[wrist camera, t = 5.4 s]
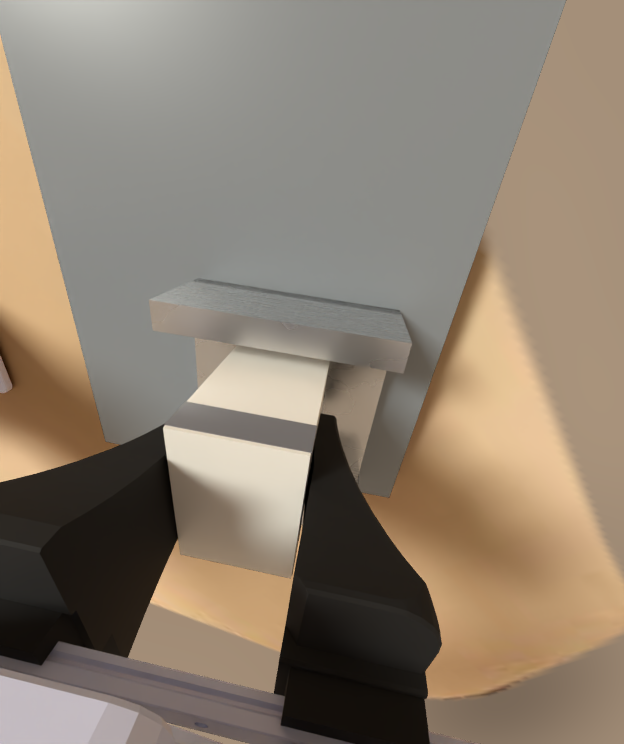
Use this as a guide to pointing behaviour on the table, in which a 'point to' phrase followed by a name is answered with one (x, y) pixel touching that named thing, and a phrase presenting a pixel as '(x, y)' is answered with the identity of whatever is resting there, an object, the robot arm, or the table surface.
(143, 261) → the board
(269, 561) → the block
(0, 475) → the table surface
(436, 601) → the table surface
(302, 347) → the end holder
